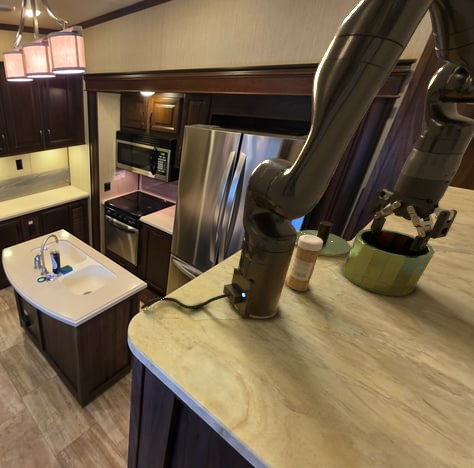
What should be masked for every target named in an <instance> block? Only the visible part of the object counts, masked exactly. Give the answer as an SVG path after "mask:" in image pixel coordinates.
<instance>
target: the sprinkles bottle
mask: <svg viewBox="0 0 474 468" xmlns="http://www.w3.org/2000/svg"><path fill="white" fill-rule="evenodd" d="M322 245H323V240H322V239H320V238H319V237H316V236H313V235H302V236H300V238H299V241H298V246H297V248H296V250H295V251H296V252H295V254H294V257H293V261H292V264H291V267H290V271H289V276H288V278H287V281H286V284H287V286H288V287H289V288H290V289H292V290H294V291H298V292H305V291H307V290H308V289H309V284H310V281H311V279H312V276H313V273H314V270H315V266H316V264H317V260H318V257H319V251H320V250H321V248H322Z"/></svg>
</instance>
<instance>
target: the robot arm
mask: <svg viewBox="0 0 474 468" xmlns="http://www.w3.org/2000/svg"><path fill="white" fill-rule="evenodd" d="M427 12H429V17H430V22H431V31H432V37H433V44H434V51H435V56H436V57H437V59H439V60H440V61H442V62H444V63H445V64H443V65H442V66H441V67H440V68H439V69H437V70H436V72H434V74H433V75H432V77H430V79H429V80H428V82H427V85H426V89H425V94H424V106H423V107H424V108H423V115H422V125H421V130H420V131H419V134H418V136H417V138H416V141H415V143H414V145H413V148H412V150H411V151H410V153H409V154H408V156H407V157H406V160H405V161H404V164H403V166H402V168H401V171H400V173H399V175H398V178H397V180H396V182H395V184H394V187H393V191H392V192H391V190H390V189H389V188H383V189H378V190H376V191H375V194H374V196H373V197H372V199H371V201H370V203H369V206H368V208H367V214H371V215H372V216H373V220H372V222H371V224H370V227H369V229H371V232H372V233H374V234H375V233H380V232H381V230H382V229H383V228H384V227H385V224H386V222H387V217H389V216H391V215H394V216H395V217H400V218H403V219H404V220H406V221H409V222H410V221H411V223H412V226H413V227H414V228H415V229H416V233H417V235H415V236H414V237H415V239H414V241H413V243H412V245H411V247H410V248H409V250H411V251H413V252H415V251H419V250H423V249H424V248H425V247H426V245H427V244H429V241H430V240H431V239H432V240H436V239H440V238H445V237H447V235H448V233H449V231H450V229H451V227H452V225H453V223H454V221H455V219H456V217H457V214H458V211H457V209H454V208H453V209H446V208H443V207H440V205H439V203H440V201H441V200H442V198H443V197H444V196H445V194H446V192H447V190H448V188H449V187H450V184H451V183H452V180H453V179H454V177H455V176H456V174H457V171H458V169H459V167H460V165H461V163H462V161H463V160H462V159H463V156H464V154H465V152H466V150H467V148H468V147H469V144H470V142H471V141H472V139H473V138H474V119H473V118H470V117H467V116H463V115H462V114H460V113H458V108H457V107H458V106H457V104H467V105H474V0H361V1H360V2H359V3H358V4H357V5H356V6H355V7H354V8H353V9H352V11H351V12H350V13H349V14H348V15H347V16H346V18H345V19H344V20H343V21H342V23H341V24H340V25H339V27H338V28H337V30H336V31H335V33H334V35H333V36H332V39H331V41H330V43H329V44H328V47H327V49H326V50H325V52H324V54H323V56H322V58H321V60H320V62H319V64H318V65H317V67H316V70H315V73H314V75H313V79H312V85H311V95H310V97H311V98H310V99H311V105H310V106H311V117H310V118H311V119H310V129H309V132H308V135H307V136H306V137H307V138H306V141H305V142H304V145H303V146H302V149H301V151H300V152H299V155H298V157H297V158H296V160H295V162H294V161H290V160H287V159H284V158H280V157H272V158H267V159H264V160H263V161H261V162H260V163H259V164H258V165H257V166H256V167H255V168H254V169H253V171H252V173H251V174H250V176H249V179H248V182H247V184H246V189H245V197H244V204H243V212H242V213H243V214H242V226H243V228H244V235H243V239H242V244H241V245H242V246H241V252H240V256H239V262H238V266H235V267H234V268H233V272H232V278H231V283H227V284H224V285H223V291H222V293H223V294H219V295H217V296H214V297H212V298H209V299H207V300H206V301H204V302H201V303H197V304H193V305H188V304H184V303H182V302H181V301H180V300H178V299H177V298H174V297H168V296H166V298H165V296H164V297H163V296H162V297H156V298H153V299H150V300H148V301H147V302H145V303H144V304H143V305H141V306H140V309H142V310H143V309H145V308H146V307H148V306H149V305H151V304H154V303H155V302H163V301H165V302H166V301H167V302H173V303H176V304H177V305H179V306H180V307H182V308H184V309H186V310H187V309H188V310H195V309H199V308H201V307H204V306H206V305H209V304H210V303H212V302H215V301H218V300H221V299H225V298H227V300H228V301H229V303H230V304H231V305H232V306H233V307H234V308H235V310H236V311H237V312H238V313H239V314H240V316H242V317H243V318H251V319H256V320H268V319H270V318H274V316H276V314H277V313H278V307H279V303H280V300H281V296H282V293H283V289H284V285H285V283H286V279H287V275H288V271H289V269H290V264H291V261H292V258H293V254H294V251H295V247H296V241H297V232H298V231H297V229H296V228H295V226H294V225H293V223H292V222H291V221H296V220H299V219H300V218H303V217H304V216H306V215H308V214H309V213H310V212H311V211H312V210H313V209H314V208H315V207H316V206H317V204H318V203H319V202H320V200H321V198H322V197H323V195H324V194H325V192H326V190H327V188H328V186H329V184H330V182H331V180H332V178H333V176H334V174H335V172H336V169H337V167H338V166H339V164H340V162H341V159H342V157H343V155H344V154H345V152H346V149H347V147H348V145H349V143H350V141H351V139H352V138H353V136H354V134H355V132H356V131H357V129H358V127H359V125H360V124H361V122H362V120H363V118H364V116H365V115H366V113H367V111H368V110H369V109H370V106H371V105H372V103H373V101H374V99H375V98H376V97H377V94H378V93H379V91H380V90H381V88H382V87H383V86H384V84H385V83H386V81H387V80H388V78H389V77H390V75H391V73H392V72H393V70H394V69H395V67H396V65H397V64H398V62H399V60H400V59H401V57H402V56H403V54H404V52H405V50H406V49H407V47H408V44H409V43H410V41H411V39H412V37H413V35H415V33H416V31H417V29H418V27H419V25H420V24H421V23H422V21H423V19H424V17H425V16H426V14H427ZM387 200H388V201H389V205H388V206H386V207H384V205H385V203H386V201H387ZM383 207H384V208H383ZM433 214H435V216H434V218H435V219H436V221H435V223H434V219H433V217H432V215H433ZM433 224H434V225H433ZM163 298H164V299H163ZM161 299H162V300H161Z"/></svg>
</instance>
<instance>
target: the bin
mask: <svg viewBox="0 0 474 468" xmlns="http://www.w3.org/2000/svg"><path fill="white" fill-rule="evenodd" d="M354 237H355V238H354V240H353V243H352V245H351V246H350V251H349V252H348V255H347V257H346V261H345V262H344V265H343V269H342V272H343V275H344V276H345V277H346V278H347V279H348V281H350V282H351V283H353V284H355V285H356V286H358V287H360V288H362V289H363V290H367V291H369V292H372V293H374V294H375V293H376V294H380V295H384V296H389V297H390V296H391V297H403V296H408V295H410V294H411V293H412V292H413V290H415V288H416V287H417V285H418V283H419V281H420V279H421V277H422V275H423V274H424V272H425V271H426V268H427V267H428V265H429V263H430V261H431V260H432V258H433V256H434V254H435V253H436V251H435V250H434V248H433V246H431V245H430V244H429V243H427V245H426V247H425V248H424V249H423V250H419V251H415V252H413V251H411V250H409V248H410V247H411V245H412V243H413V241H414V239H415V237H416V236H414V235H410V234H408V233H404V232H400V231H396V230H390V229H383V228H382V230H381V232H380V233H375V234H374V233H372V232H371V229H370V228H367V229H361V230H359V232H358V233H356V234H355V236H354Z"/></svg>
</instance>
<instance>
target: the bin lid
mask: <svg viewBox="0 0 474 468" xmlns="http://www.w3.org/2000/svg"><path fill="white" fill-rule="evenodd" d="M333 226H334V223H332V222H330V221H327V220H322V221H320V222H319V225H318V229H317V230H316V229H315V230H314V229H305V230H299V231H297V241H296V244H295V246H297V247H298V241H299V238H300V236H302V235H313V236H316V237H319V238H320V239H322V240H323V245H322V248H321V250H320V251H319V254H318V256H319V255H320V256H324V257H325V256H326V257H339V256H340V257H341V256H344V255H347V254H349V252H350V250H351V245H350V243H349V242H348V241H347V240H346V239H344V238H342V237H340V236H338V235H336V234H333V233H331V232H332V229H333ZM301 232H302V233H301ZM304 233H305V234H304ZM331 241H333V242H331Z"/></svg>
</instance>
